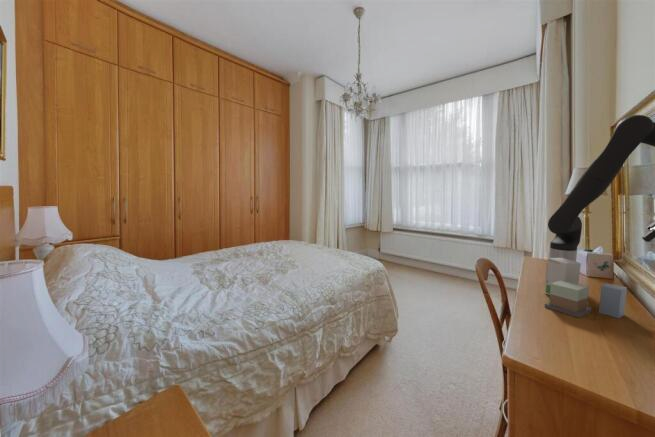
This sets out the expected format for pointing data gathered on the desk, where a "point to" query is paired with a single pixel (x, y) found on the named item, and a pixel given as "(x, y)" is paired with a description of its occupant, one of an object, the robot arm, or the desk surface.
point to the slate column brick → (612, 300)
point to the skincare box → (561, 272)
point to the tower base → (569, 298)
